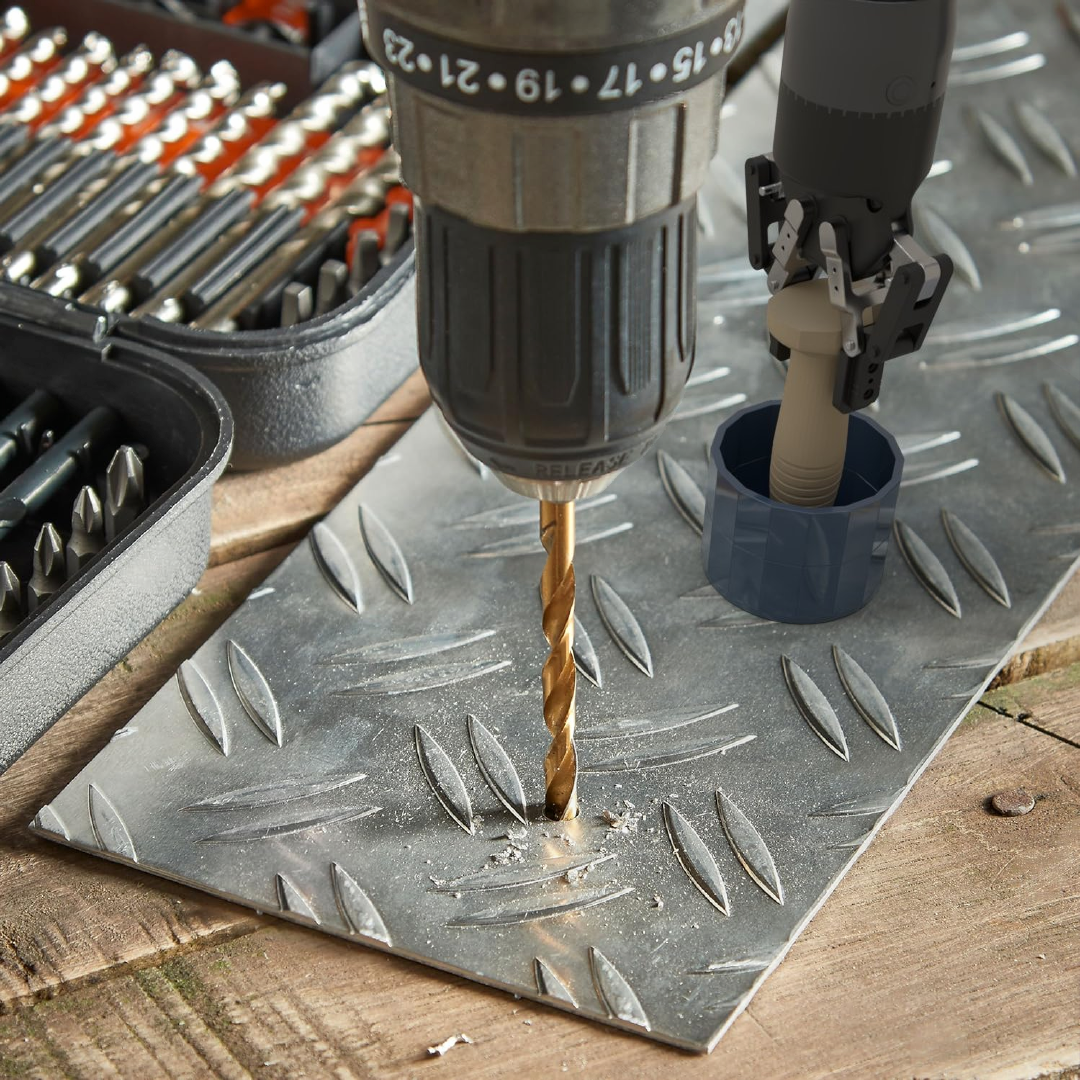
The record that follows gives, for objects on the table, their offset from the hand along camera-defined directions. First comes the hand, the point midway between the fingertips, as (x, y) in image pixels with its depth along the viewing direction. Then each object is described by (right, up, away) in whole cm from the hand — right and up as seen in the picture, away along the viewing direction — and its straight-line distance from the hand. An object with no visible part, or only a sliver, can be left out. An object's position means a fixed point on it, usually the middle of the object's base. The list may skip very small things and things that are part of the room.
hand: (819, 378), depth 81 cm
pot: (0, -10, +8) cm, 13 cm away
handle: (0, -8, +7) cm, 11 cm away
